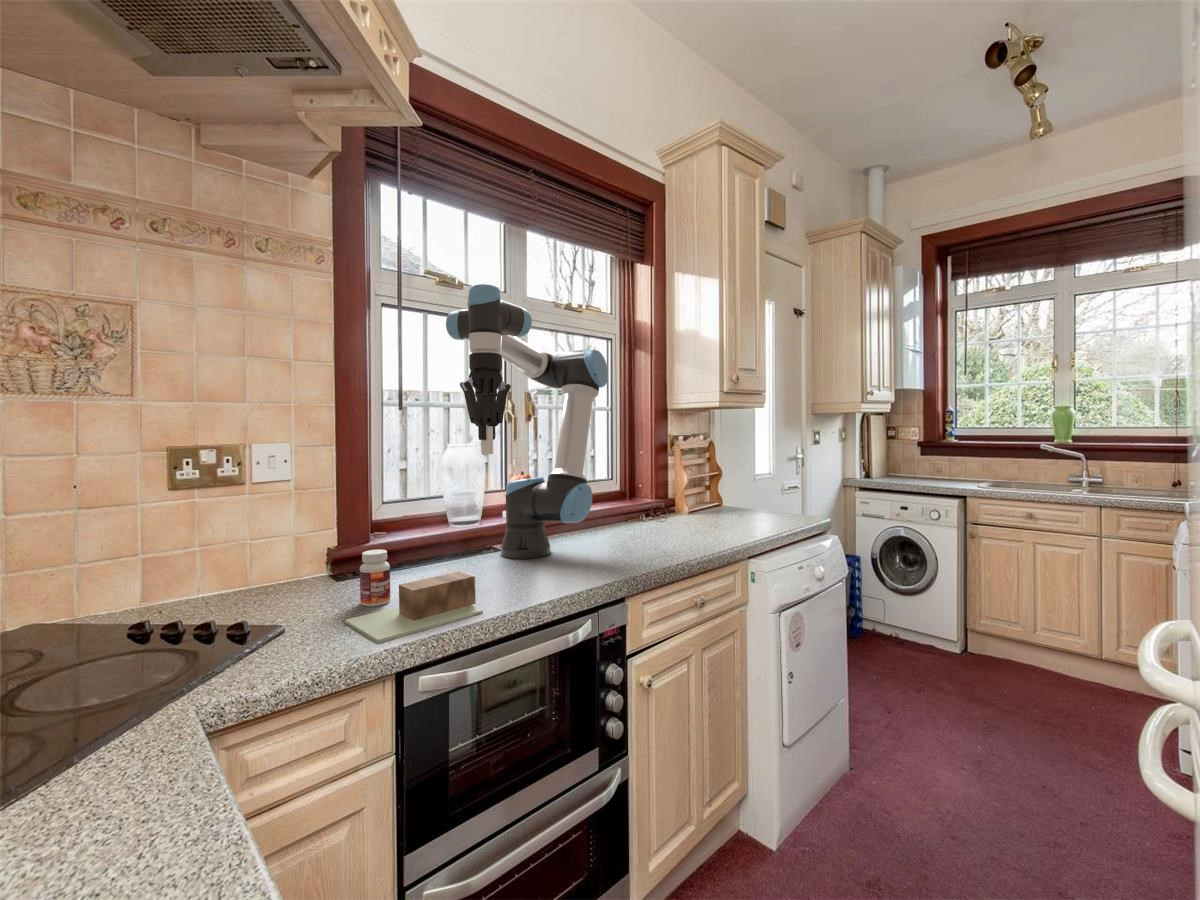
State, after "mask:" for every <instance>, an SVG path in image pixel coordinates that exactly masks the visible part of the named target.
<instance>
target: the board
mask: <svg viewBox="0 0 1200 900" xmlns="http://www.w3.org/2000/svg"><path fill="white" fill-rule="evenodd" d="M482 612H483V613H484V609H481V608H479V607H476V606H474V605H470V606H466V607H462V608H459V609H455V610H451V611H448V612H444V613H440V614H437V615H433V616H429V617H426V618H422V619H418V620H415V621H413V620H411V619H409V618H407V617H405V616H403V615H401V614H399V606H395V607H392V608H387V609H383V610H379V611H375V612H371V613H367V614H364V615H363V614H362V615H360V616H355V617H351V618H348V619H345V620H344V623H345V624H346V625H347V626H350V627H351V628H353V629H354V630H356V631H358V632H359V633H361V634H362V635H363V636H365V637H367V638H369V639H371V640H372V641H374V642H375V643H377V644H380V643H384V642H387V641H389V640H394V639H398V638H401V637H404V636H409V635H411V634H414V633H418V632H421V631H425V630H429V629H432V628H436V627H439V626H442V625H445V624H448V623H452V622H456V621H459V620H463V619H465V618H466V617H467V618H470V617H472V616H476V614H477V615H480V614H483V613H482ZM479 613H480V614H479Z"/></svg>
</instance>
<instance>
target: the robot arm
mask: <svg viewBox="0 0 1200 900" xmlns="http://www.w3.org/2000/svg"><path fill="white" fill-rule="evenodd" d="M467 294H468V297H467V308H466V309H463V308H461V309H458V310H454V311H452V312H449V313H448V315H447V316H446V318H445V319H446V320H445V329H446V331H447V334H448V335H449V336H450V337H451V338H452V339H453V340H457V341H459V340H460V341H465V340H467V341H468V352H470V354H469V355H468V360H469V361H468V363H469V365H468V366H469V374H468V379H466V380H465V381H461V382H460V383H459V386H460V388H461V390H462V392H463V394H464V398H465V403H466V408H467V412H468V417H469V420H470V423H471V424H474V425H475V426H476V427H477V428H478V429H477V430H478V433H477V434H478V437H477V438H478V440H479V441H480V446H481V447H480V448H481V450H480V451H481V452H480V453H481V455H494V441H495V439H496V427H498V426H499V425H500V424H502V423H503V420H504V416H505V415H504V414H505V409H506V404H507V399H508V393H509V392H510V390H511V387H512V385H511V384H510V383H506V382H504V380H503V377H502V376H503V375H502V374H501V371H502V369H503V361H505V362H507V363H508V364H511V365H512V366H514V367H516V368H517V369H519V370H521V372H522V373H523V375H524V376H525V377H526V378H529V379H530V380H532V381H535V382H536V383H538V384H540V385H544V386H547V387H549V388H553V389H561V392H562V393H563V394H564V402H563V410H562V415H561V423H560V428H559V429H560V430H559V435H558V441H557V442H558V443H557V450H556V456H555V457H556V458H555V465H554V469H553V471H551V472H550V473H548V476H547V482H546V481H545V479H544V477H543V476H540V477H532V478H531V477H530V478H524V479H523V478H522V479H516V480H509V481H508V482H507V483H506V485H505V494H504V496H505V519H506V521H505V523H506V524H505V527H506V528H505V533H504V536H503V539H502V542H501V546H500V556H502V557H505V558H508V559H520V560H521V559H523V560H525V559H535V558H536V559H537V558H542V557H545V556H548V555H549V554H551V544H550V541H549V537H548V534H547V531H546V528H545V522H551V523H564V524H566V525H567V524H578V523H581V522H582V521H584V520H585V518H587V516H588V515H589V513H590V510H591V508H592V504H593V494H592V492H593V490H592V488H591V486H590V484H588V479H587V478H586V476H585V475H584V468H585V460H586V452H587V446H588V437H589V430H590V423H591V415H592V407H593V400H594V399H595V398H596V397H598V396H599V391H600V388H603V387H606V385H607V383H608V380H609V370H608V366H607V365H608V364H607V361H606V359H605V357H604V355H603V354H602V353H601V351H600V350H597V349H581V350H580V349H579V350H569V351H557V352H556V351H554V352H553V351H552V352H551V351H550V352H549V351H544V350H543V349H541V348H534V347H532V346H531V345H529V344H528V343H527V342H525V341H522V339H520V337H524V336H526V335H527V334H528V333H529V332H530V331H531V329H532V325H533V319H532V315H531V314H530V312H529V311H528V310H527V309H526V308H524V307H522V306H520V305H518V304H514V303H511V302H507V301H504V300H502V294H501V290H500V288H499V287H498V286H496V285H494V284H493V285H492V284H485V283H483V284H480V283H479V284H474V285H471V287H469V288H468V293H467Z"/></svg>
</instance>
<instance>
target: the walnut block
mask: <svg viewBox="0 0 1200 900" xmlns="http://www.w3.org/2000/svg"><path fill="white" fill-rule="evenodd" d="M476 601H477V600H476V575H473V574H470V573H466V572H464V571H456V572H455V571H454V572H451V573H447V574H441V575H437V576H433V577H428V578H424V579H418V580H415V581H408V582H405V583H400V584H398V607H399V614H401V615H403V616H405V617H407V618H409V619H411V620H413V621H415V620H418V619H422V618H426V617H429V616H433V615H437V614H440V613H444V612H448V611H451V610H455V609H459V608H462V607H466V606H470V605H472V606H474V605H476V603H477V602H476Z"/></svg>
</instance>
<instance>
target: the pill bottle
mask: <svg viewBox="0 0 1200 900" xmlns="http://www.w3.org/2000/svg"><path fill="white" fill-rule="evenodd" d="M387 560H388V551H387V550H386V549H369V550H366V551H363V552H362V553H361V562H362V564H361V565H360V567H359V590H360V591H359V595H360V596H359V598H360V599H359V600H360V604H361V606H363V607H372V608H373V607H378V606H379V607H380V606H383V605H386V604H388V603H390V601H391V567H390V566H391V565H390V563H389V562H387Z"/></svg>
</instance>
